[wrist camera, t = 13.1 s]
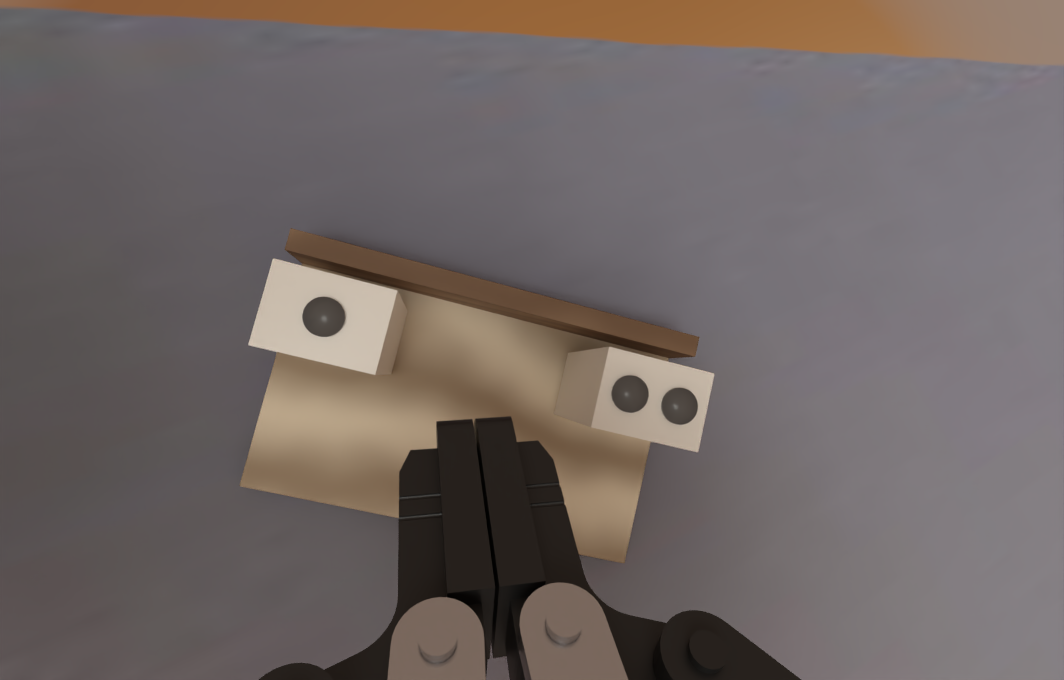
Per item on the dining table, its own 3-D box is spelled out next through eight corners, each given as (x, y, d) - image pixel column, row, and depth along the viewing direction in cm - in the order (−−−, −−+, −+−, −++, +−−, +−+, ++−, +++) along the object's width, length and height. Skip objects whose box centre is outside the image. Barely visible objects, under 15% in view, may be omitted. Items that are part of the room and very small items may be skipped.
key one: (391, 374, 35) (374, 374, 26) (297, 352, 34) (246, 344, 25) (407, 311, 35) (397, 289, 26) (315, 287, 34) (271, 257, 25)
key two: (636, 433, 37) (700, 453, 28) (553, 414, 36) (592, 427, 27) (649, 373, 38) (716, 373, 28) (568, 352, 37) (610, 346, 28)
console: (619, 558, 38) (646, 586, 33) (245, 482, 34) (212, 501, 30) (667, 338, 39) (700, 333, 34) (311, 245, 36) (291, 224, 31)
